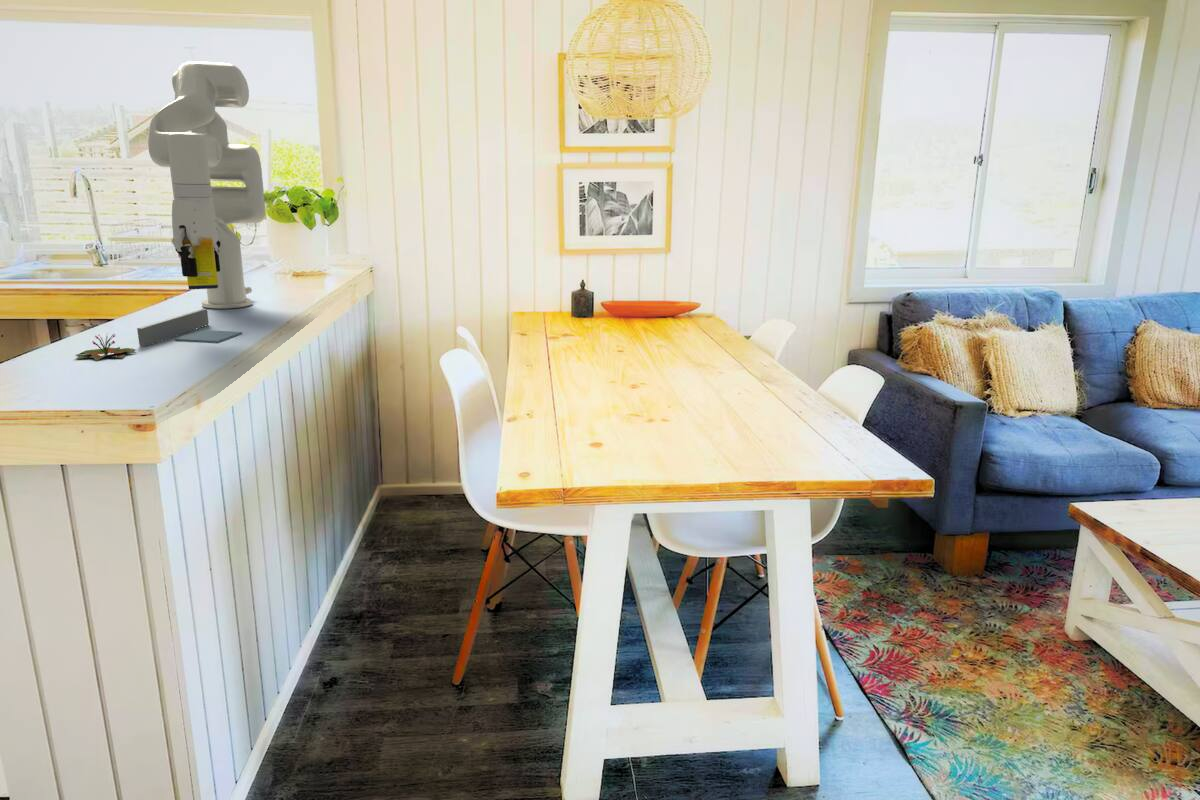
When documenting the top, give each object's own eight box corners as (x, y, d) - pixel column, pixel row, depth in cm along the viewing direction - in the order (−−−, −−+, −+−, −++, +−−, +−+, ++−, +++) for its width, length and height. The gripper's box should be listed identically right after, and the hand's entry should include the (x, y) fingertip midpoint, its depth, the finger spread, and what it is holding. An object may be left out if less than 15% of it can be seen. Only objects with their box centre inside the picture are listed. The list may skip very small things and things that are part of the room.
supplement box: (188, 285, 180) (182, 236, 177) (218, 284, 182) (212, 236, 179) (188, 289, 174) (181, 238, 171) (218, 288, 177) (212, 238, 174)
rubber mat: (201, 331, 187) (201, 329, 187) (242, 333, 186) (241, 331, 186) (175, 340, 177) (174, 338, 177) (217, 342, 176) (217, 341, 176)
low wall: (205, 325, 194) (203, 308, 193) (208, 325, 194) (206, 309, 193) (139, 346, 171) (137, 328, 170) (144, 346, 171) (141, 328, 170)
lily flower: (62, 364, 157) (58, 342, 156) (85, 351, 168) (82, 329, 167) (129, 362, 160) (125, 340, 158) (148, 349, 171) (145, 328, 170)
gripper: (200, 191, 181) (208, 268, 186) (150, 193, 165) (161, 278, 170) (231, 192, 180) (239, 269, 185) (184, 194, 164) (194, 279, 169)
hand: (201, 273), depth 177 cm, fingers closed on supplement box, 8 cm apart
